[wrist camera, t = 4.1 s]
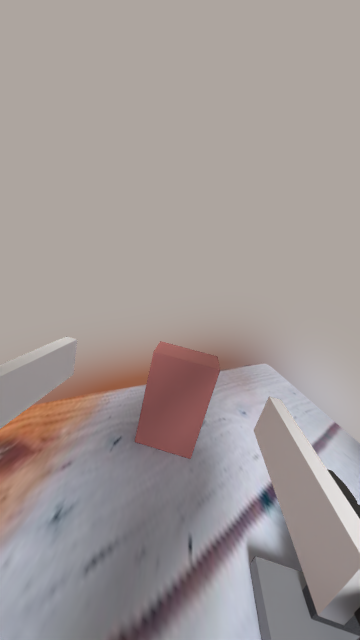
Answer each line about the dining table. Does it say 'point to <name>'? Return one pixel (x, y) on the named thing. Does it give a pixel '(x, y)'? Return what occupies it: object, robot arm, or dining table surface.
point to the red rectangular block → (176, 398)
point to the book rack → (291, 606)
